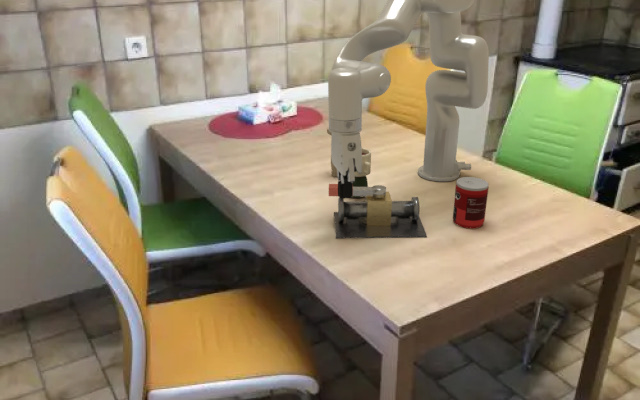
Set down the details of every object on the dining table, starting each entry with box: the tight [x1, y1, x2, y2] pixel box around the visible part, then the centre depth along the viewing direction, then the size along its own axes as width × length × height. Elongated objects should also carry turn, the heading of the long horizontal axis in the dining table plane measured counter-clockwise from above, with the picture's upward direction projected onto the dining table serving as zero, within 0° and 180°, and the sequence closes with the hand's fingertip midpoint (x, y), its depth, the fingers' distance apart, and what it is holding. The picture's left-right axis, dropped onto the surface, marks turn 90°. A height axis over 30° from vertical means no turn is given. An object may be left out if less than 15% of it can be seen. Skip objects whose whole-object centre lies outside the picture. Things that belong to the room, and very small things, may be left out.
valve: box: [333, 191, 428, 239], centre depth 148 cm, size 22×14×7 cm, turn 91°
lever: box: [328, 183, 387, 198], centre depth 148 cm, size 14×4×2 cm, turn 87°
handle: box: [326, 126, 338, 178], centre depth 177 cm, size 5×6×15 cm
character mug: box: [351, 147, 372, 198], centre depth 164 cm, size 11×7×13 cm, turn 33°
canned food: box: [452, 176, 489, 229], centre depth 148 cm, size 8×8×11 cm
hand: (345, 196), depth 142 cm, fingers closed
